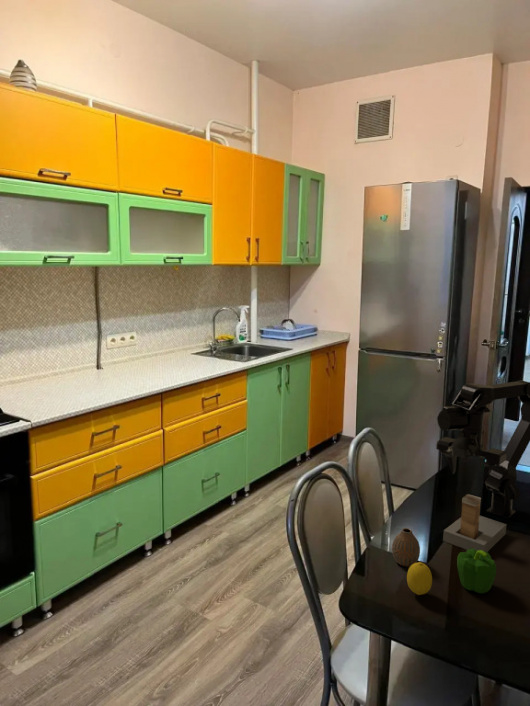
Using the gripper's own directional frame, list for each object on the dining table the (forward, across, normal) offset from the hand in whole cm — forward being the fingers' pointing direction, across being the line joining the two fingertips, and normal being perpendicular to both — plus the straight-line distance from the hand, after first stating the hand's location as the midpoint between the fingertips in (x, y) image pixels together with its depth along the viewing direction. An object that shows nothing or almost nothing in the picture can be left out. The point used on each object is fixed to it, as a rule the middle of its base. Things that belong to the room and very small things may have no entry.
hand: (468, 477), depth 154 cm
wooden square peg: (+13, +6, -13) cm, 20 cm away
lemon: (+13, +8, -44) cm, 47 cm away
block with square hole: (+13, +6, -9) cm, 17 cm away
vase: (+13, -1, -34) cm, 37 cm away
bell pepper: (+13, +16, -32) cm, 38 cm away
